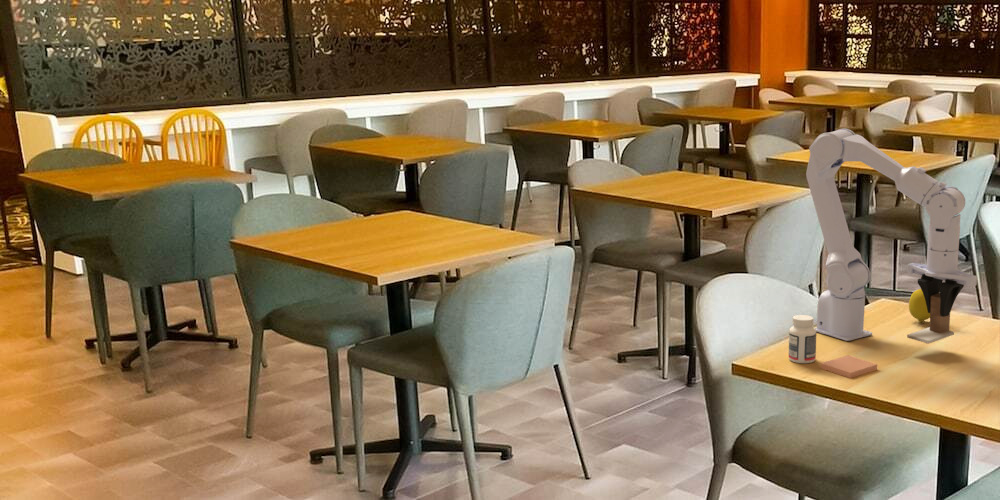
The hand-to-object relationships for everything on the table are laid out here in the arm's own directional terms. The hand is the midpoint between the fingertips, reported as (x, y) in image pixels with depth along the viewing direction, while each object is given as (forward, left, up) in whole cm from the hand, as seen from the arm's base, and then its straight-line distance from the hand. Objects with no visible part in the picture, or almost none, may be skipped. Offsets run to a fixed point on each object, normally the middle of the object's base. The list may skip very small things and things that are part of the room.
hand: (938, 313), depth 210 cm
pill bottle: (-12, -26, -8) cm, 30 cm away
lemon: (-14, +14, -8) cm, 21 cm away
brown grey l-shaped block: (0, -2, -4) cm, 5 cm away
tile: (-3, -19, -8) cm, 20 cm away
